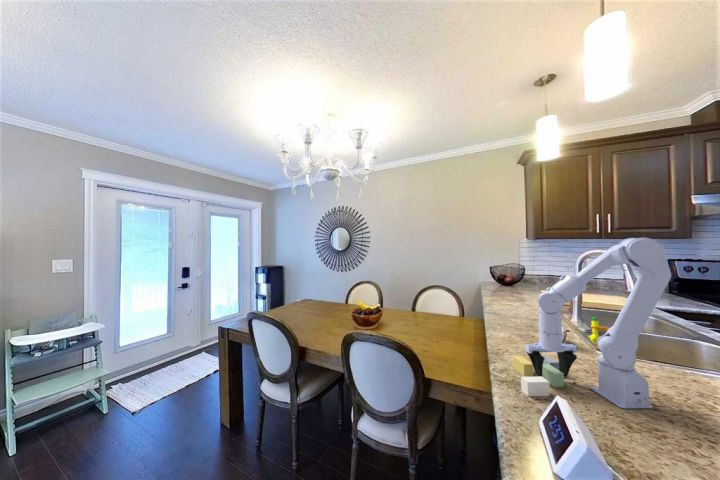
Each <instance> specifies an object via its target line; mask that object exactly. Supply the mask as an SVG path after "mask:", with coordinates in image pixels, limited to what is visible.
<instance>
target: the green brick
mask: <svg viewBox="0 0 720 480" xmlns="http://www.w3.org/2000/svg"><path fill="white" fill-rule="evenodd" d="M542 372H543V374H542V377H543V378H544V379H546V380H547V381H548V382H549V385H551V386H552V387H553V388H563V386H564V387H565V377H564V373H562V372H560V371H559V370H557V369H556V368H554V367H553V366H551V365H550V364H543V367H542Z"/></svg>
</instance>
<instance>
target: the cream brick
mask: <svg viewBox="0 0 720 480" xmlns="http://www.w3.org/2000/svg"><path fill="white" fill-rule="evenodd" d="M520 388H521V389H520V390H521V392H523V393H524V395H526V396H527V397H550V384H549V382H548V381H547V380H546V379H544V378H543V377H542V376H531V377H524V376H520Z"/></svg>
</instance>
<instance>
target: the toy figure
mask: <svg viewBox="0 0 720 480" xmlns="http://www.w3.org/2000/svg"><path fill="white" fill-rule="evenodd" d="M590 328H591V330H592V334H591V335H587V337H588V339H589V340H590V341H591V343H592V344H594V347H596V348H595V349H597V348H598V346H597V340H598V339H599V338H600V337H601V336H600V335H599V331H603V332H604V331H605V332H607V331H608V329H609V327H606V326H602V325H600V324H599V319H598V318H597V317H596V316H595V317H593V316H592V317H591V325H590Z"/></svg>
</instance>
